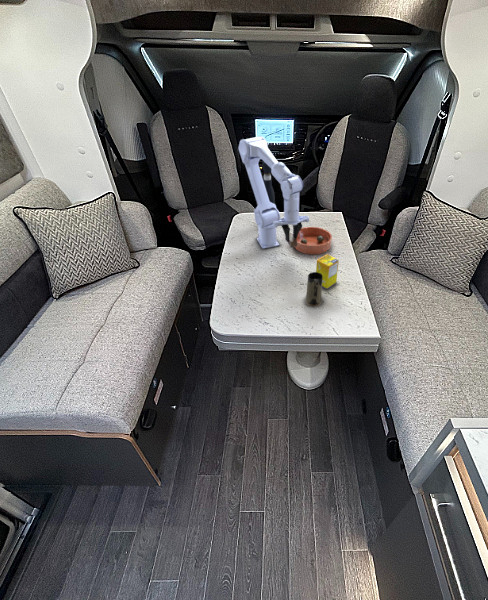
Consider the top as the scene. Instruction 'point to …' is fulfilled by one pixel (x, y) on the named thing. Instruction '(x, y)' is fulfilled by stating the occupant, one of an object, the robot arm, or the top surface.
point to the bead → (320, 239)
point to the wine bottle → (268, 184)
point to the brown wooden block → (292, 240)
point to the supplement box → (327, 270)
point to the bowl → (313, 240)
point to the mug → (314, 289)
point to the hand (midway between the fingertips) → (291, 239)
